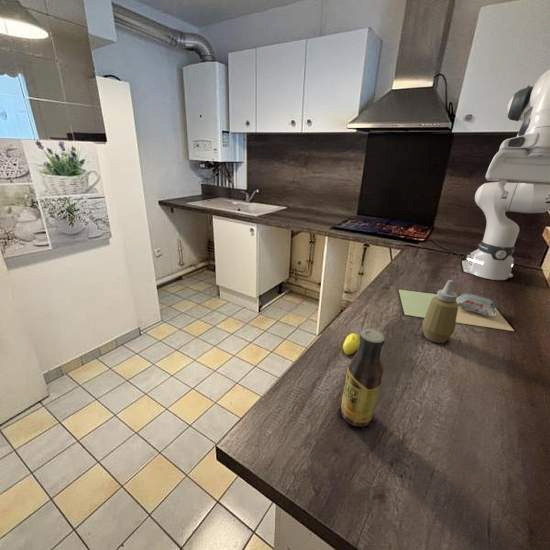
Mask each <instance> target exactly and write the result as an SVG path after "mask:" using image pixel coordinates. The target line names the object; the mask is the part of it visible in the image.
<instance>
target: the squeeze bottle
mask: <svg viewBox="0 0 550 550" xmlns="http://www.w3.org/2000/svg"><path fill="white" fill-rule="evenodd" d="M436 292H437V293H436V294H437V296H435V297H433V298H432V300H431V302H430V305H429V307H428V310H427V312H426V315H425V317H424V318H423V320H422V323H421V325H422V331H423V336H424V337H425V338H426V339H427V340H428V341H431V342H433V343H437V344H444V343H446V342H447V341H448V340H449V339H450V338H451V336H452V335H453V334H454V333H455V329H456V328H455V326H456V317H457V311H458V303H457V302H456V298H457V297H458V294H457V293H456V292H455V291H454V280H453V279H447V282H446V283H445V285H444V287H443V288H442V289H439V290H437V291H436Z"/></svg>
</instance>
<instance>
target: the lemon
mask: <svg viewBox="0 0 550 550" xmlns="http://www.w3.org/2000/svg"><path fill="white" fill-rule="evenodd" d="M359 338H360V335H359V334H357V333H356V332H355V333H354V332H352V333H350V334H349V335H347V336H346V338H345V340H344V342H343V344H342V351H343V352H344V354H345V355H348V356H350V355H352V354H354V353H356V352H357V351H358V349H359V344H360V339H359Z"/></svg>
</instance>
